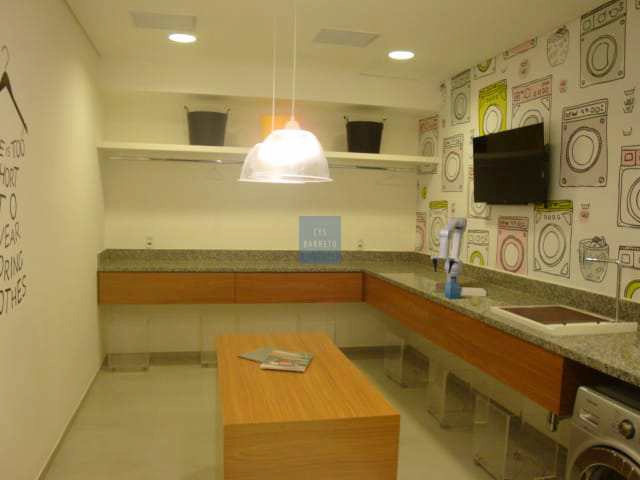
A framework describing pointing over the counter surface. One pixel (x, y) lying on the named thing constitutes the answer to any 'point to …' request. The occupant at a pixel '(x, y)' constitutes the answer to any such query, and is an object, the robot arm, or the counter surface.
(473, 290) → the base block
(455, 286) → the perfume bottle
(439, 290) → the walnut cube
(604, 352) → the counter surface
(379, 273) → the counter surface
